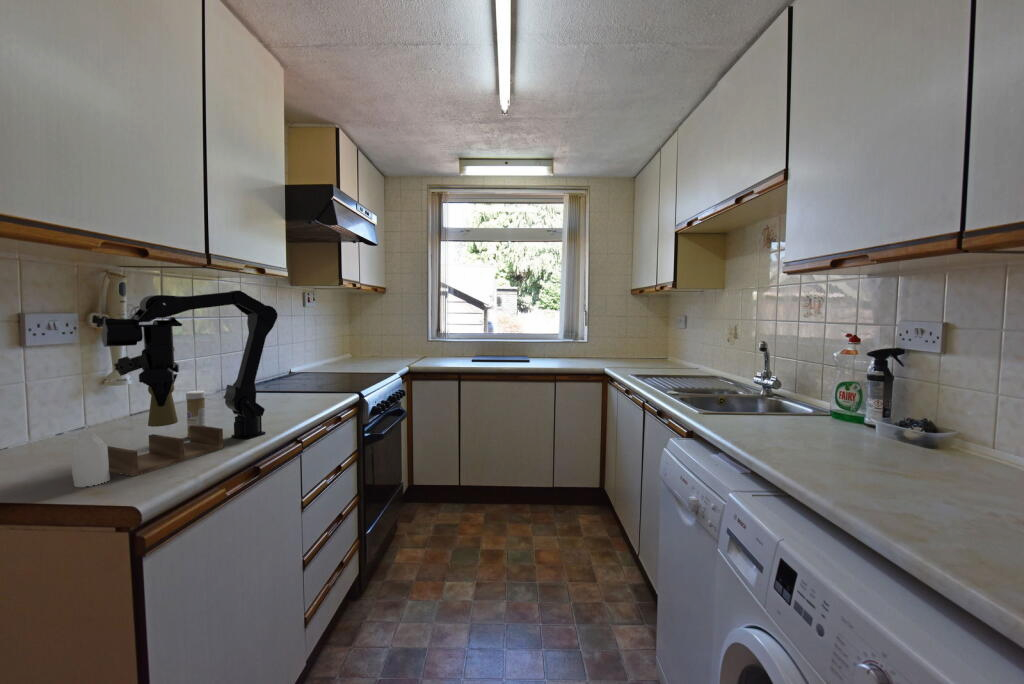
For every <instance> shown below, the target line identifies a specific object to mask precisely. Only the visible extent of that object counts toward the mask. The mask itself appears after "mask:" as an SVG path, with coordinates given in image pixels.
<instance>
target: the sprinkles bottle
mask: <svg viewBox="0 0 1024 684" xmlns="http://www.w3.org/2000/svg"><path fill="white" fill-rule="evenodd" d="M205 398H206V391H205V390H202V389H201V390H190V391H187V392H185V399H186V424H187V425H186V426H187V427H186V428H187V435H186V437H187V438H188V439H190V425H199V426H206V425H207V424H206V422H207V421H206V419H207V418H206V399H205Z"/></svg>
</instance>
